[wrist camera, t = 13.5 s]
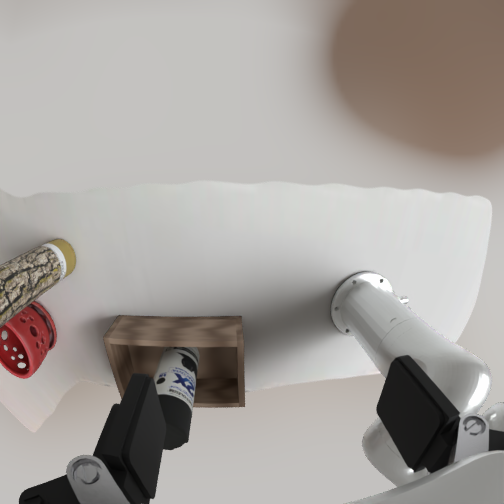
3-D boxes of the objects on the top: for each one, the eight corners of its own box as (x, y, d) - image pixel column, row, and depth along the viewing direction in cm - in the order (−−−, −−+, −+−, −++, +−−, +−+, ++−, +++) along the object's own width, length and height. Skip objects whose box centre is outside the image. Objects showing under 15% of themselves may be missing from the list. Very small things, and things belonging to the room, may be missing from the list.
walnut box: (241, 316, 49) (243, 340, 41) (242, 378, 52) (245, 406, 45) (118, 315, 47) (103, 337, 39) (133, 376, 51) (122, 402, 43)
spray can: (207, 354, 49) (200, 440, 30) (182, 373, 50) (167, 456, 31) (180, 330, 48) (158, 412, 28) (155, 350, 48) (127, 431, 29)
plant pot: (48, 291, 45) (14, 317, 33) (69, 349, 48) (44, 383, 37) (8, 294, 44) (-24, 317, 33) (28, 347, 48) (2, 376, 36)
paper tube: (78, 242, 43) (-19, 297, 19) (76, 278, 45) (-8, 350, 21) (49, 234, 42) (-49, 280, 18) (48, 269, 44) (-40, 330, 20)
